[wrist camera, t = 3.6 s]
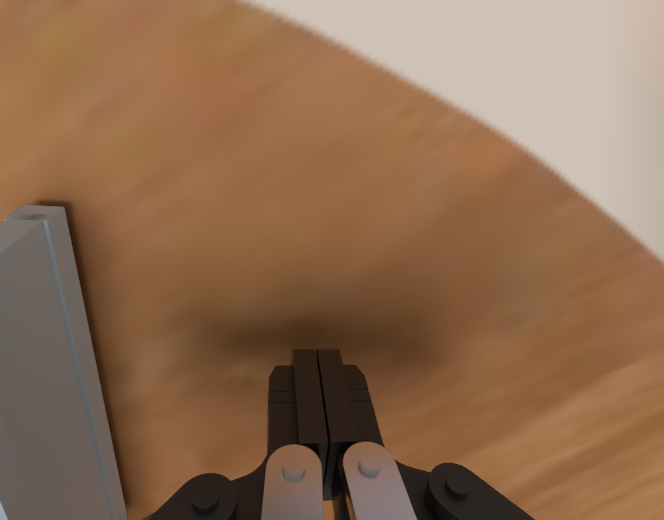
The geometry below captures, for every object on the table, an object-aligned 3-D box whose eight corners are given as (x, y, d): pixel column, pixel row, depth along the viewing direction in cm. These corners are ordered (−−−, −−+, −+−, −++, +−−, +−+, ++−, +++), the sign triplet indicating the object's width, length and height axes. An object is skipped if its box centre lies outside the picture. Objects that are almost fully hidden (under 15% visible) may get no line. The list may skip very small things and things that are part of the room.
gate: (132, 519, 18) (81, 697, 13) (97, 521, 18) (31, 702, 13) (72, 207, 12) (-72, 326, 7) (15, 204, 11) (-174, 327, 7)
